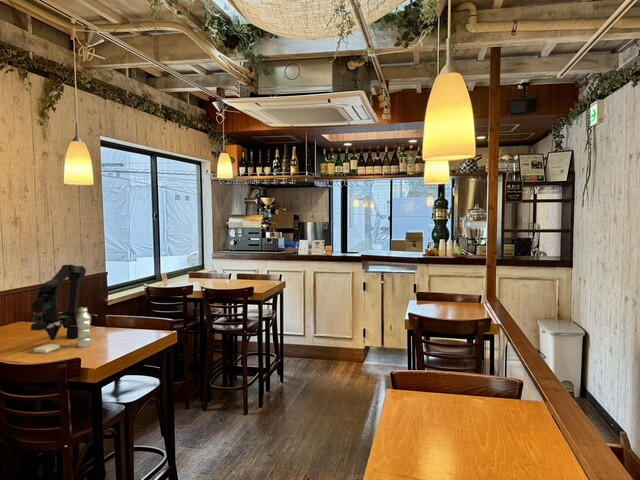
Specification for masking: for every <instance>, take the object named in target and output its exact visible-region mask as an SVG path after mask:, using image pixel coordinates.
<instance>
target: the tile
mask: <svg viewBox="0 0 640 480" xmlns="http://www.w3.org/2000/svg"><path fill="white" fill-rule="evenodd" d="M58 348H60V344H54V343H47V344H44V345H41V346H38V347H35V348H33V350H34V352H41V353H47V352H49V351H52V350H55V349H58Z"/></svg>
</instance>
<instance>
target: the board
mask: <svg viewBox="0 0 640 480" xmlns="http://www.w3.org/2000/svg"><path fill="white" fill-rule="evenodd" d="M59 345H60V344H59ZM70 347H72V345H63V344H61V345H60V348H58V349H55V350H52V351H49V352H47V353H41V352H34V349H32V350H30V351H27V352H25V354H28V355H29V354H31V355H44V356H49V355H52V354H54V353H57V352H60V351H62V350H65V349H68V348H70Z"/></svg>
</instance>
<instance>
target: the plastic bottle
mask: <svg viewBox="0 0 640 480" xmlns="http://www.w3.org/2000/svg"><path fill="white" fill-rule="evenodd" d="M78 310H79V312H80V313H79V314H78V316H77V318H76V321H77V326H78V338H77V339H76V340H77V342H76V345H77V347H78V348H80V349H84V348H89V347H92V345H93V339H92V338H93V337H92V333H91V323H92V315H91V314H89V312H88V311H89V310H88V307H86V306H85V307H83V306H81V307H78Z"/></svg>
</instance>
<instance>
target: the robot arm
mask: <svg viewBox="0 0 640 480" xmlns="http://www.w3.org/2000/svg"><path fill="white" fill-rule="evenodd" d="M86 273H87V270H86V268H85V267H84V266H83V265H74V264H64V265H62V266H61V268H60V269H59V271H58V272H56V274H55V275H54V276H53V277H52V278H51V279H50V280H48V281H45V282H44V283H43V284H42V285H41V286H40V287H39V291H38V293H37V296H36V298H35V301H34V302H33V303H32V304H31V311H32V312H33V313H35V314H34V315H32V316H31V321H32V324H31V325H30V331H44V330H45V331H46V333H47V336H48V337H49V339H50V340H51V341H54V340H55V339H56V337H57V334H58V333H59V331H60V329H61V327H62V328H63V329H66V337H65V338H64V339H66V340H78V326H77V321H76V318H77V316H78V314H79V313H80V312H79V303H80V302H79V299H80V291H81V283H82V281H83V280H84V279H85V275H86ZM66 279H68V280H69V289H68V290H69V291H68V299H67V307H66V309H65V310H64V311H63V312H62V313H61V310H60V309H59V308H58V299H60V296H59V295H58V294H59V293H60V291H61V290H62V288H61V285H62V284H63V283H64V282H65V280H66ZM40 313H41V315H38V314H40ZM59 313H61V314H62V315H61V316H59Z"/></svg>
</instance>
